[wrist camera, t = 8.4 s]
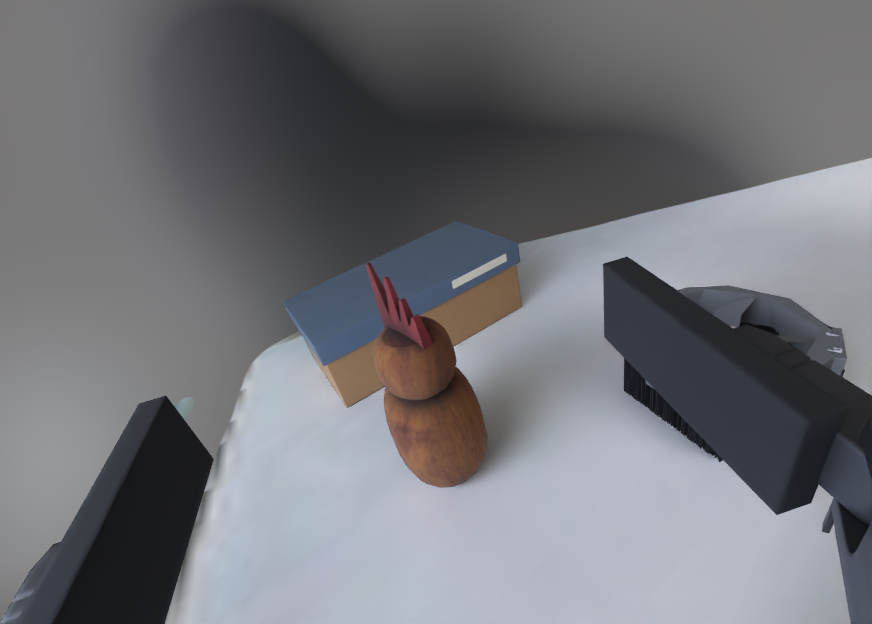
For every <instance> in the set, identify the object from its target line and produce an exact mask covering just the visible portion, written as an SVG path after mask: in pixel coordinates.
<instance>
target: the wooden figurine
mask: <svg viewBox="0 0 872 624" xmlns="http://www.w3.org/2000/svg"><path fill="white" fill-rule="evenodd" d="M366 267H367V271H368V274H369V278H370V281H371V285H372V288H373V291H374V295H375V298H376V302H377V305H378V309H379V312H380V315H381V318H382V322H383V325H384V329H383V330H382V331H381V333H380V334H379V335H378V337H377V340H376V342H375V346H374V363H375V368H376V371H377V373H378V376H379V378H380V380H381V382H382V384H383V385H384V386H385V388H386V389H385V396H384V405H385V413H386V418H387V423H388V426H389V429H390V432H391V435H392V437H393V439H394V442H395V444H396V447H397V449H398V451H399V454H400V456H401V457H402V459H403V460H404V462H405V464H406V465H407V466H408V467H409V468H410V470H411V471H412V472H413V473H414V474H415V475H416V476H417V477H418V478H419V479H420V480H421V481H423V482H425V483H427V484H430V485H433V486H437V487H453V486H456V485H458V484H460V483H462V482H464V481H466V480H467V479H468V478H470V477H471V476H472V475H473V474H474V473H476V471H477V469H478V467H479V465H480V462H481V460H482V458H483V456H484V454H485V450H486V446H487V432H486V427H485V423H484V419H483V415H482V411H481V408H480V405H479V402H478V400H477V397H476V395H475V393H474V391H473V389H472V387H471V385H470V383H469V382H468V380H467V379H466V377H465V376H464V375H463V374H462V372H461V371H460V370H459V369H458V368H457V367H455V366H456V356H455V351H454V348H453V345H452V342H451V339H450V336H449V334H448V333H447V331H446V329H445V328H444V327H443V326H442V325H440V324H439V323H438V322H436V321H435V320H433V319H431V318H428V317H425V316H419V315H418V314H416V315H415V316H413V314H412V311H411V309H410V307H409V305H408V303H407V301H406V299H405V298H403V299H401V300H399V298H398V296H397V294H396V292H395V289H394V287H393V285H392V283H391V281H390V279H389V277H387V276H386V277H384V285H385V288H384V286H383V285H382V283H381V281H380V279H379V277H378V276H377V274H376V272H375V270H374V268H373V266H372V265H371V263H369V262H368V263H366Z"/></svg>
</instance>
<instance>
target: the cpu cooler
mask: <svg viewBox="0 0 872 624" xmlns="http://www.w3.org/2000/svg"><path fill="white" fill-rule="evenodd" d="M678 291H679V292H680V293H682V294H683V295H685V296H686V297H687V298H689V299H690V300H692V301H693V302H695V303H696V304H698V305H699V306H701V307H702V308H704V309H705V310H707V311H708V312H710V313H711V314H713V315H714V316H715V317H717V318H718V319H720V320H721V321H723V322H724V323H726V324H727V325H729V326H730V327H732V328H735V327H739V326H742V325H745V324H747V325H750V326H753V327H756V328H759V329H762V330H765V331H767V332H770V333H773V334H774V335H776V336H777V337H779V338H781V339H782V340H784V341H785V342H787V343H788V344H790V345H792V346H793V349H798V350H800V351H801V352H803V353H804V354H806V355H808V356H809V357H810V359H811V360H816V361H817V362H819V363H820V364H822V365H824V366H825V367H827V368H828V369H830V370H831V371H833V372H835V373H836V374H838V375H839V376H841V377H843V374H844V371H845V370H843V368H844V365H845V362H846V359H847V357H846V351H845V346H844V340H843V335H842V329H840V328H834V327H830V326H828V325H826V324H824V323H823V322H821V321H820V320H819V319H817V318H816V317H814V316H813V315H812V314H810V313H809V312H808V311H806V310H805V309H803V308H802V307H801V306H799V305H798V304H797V303H795V302H794V301H793V300H791V299H789V298H784V297H779V296H775V295H770V294H765V293H761V292H756V291H752V290H747V289H742V288H738V287H733V286H711V287H691V288H684V289H681V290H678ZM624 391H626V393H628V394H629V395H633V397H634V399H635V398H636V400H637V401H639V400H640V402H641V404H642V403H643V405H644V404H645V406H646V407H647V406H648V408H650V410H651V411H652V412H653V411H654V413H655V414H657V416H659V415H660V417H661V418H663V420H665V422H666V421H667V423H668V422H669V424H670V423H671V426H672V425H673V427H675V428H676V427H677V428H676V430H678V431H680V430H681V434H682V433H683V435H685V436H686V435H687V438H689V440H691V441H694V442H693V443H696V442H697V444H698V446H700V448H702V447H703V449H704V448H705V451H707V453H709V452H710V455H711V454H712V456H713V455H714V454H715V458H716V457H718V459H719V462H721V461H722V460H723V459H722V458H721V457H720V456H719V455H718V454H717V453H716V452H715V451H714V450H713V449H712V448H711V447H710V446H709V445H708V444H707V443H706V442H705V440H704V439H703V438H702V437H701V436H700V435H699V434H698V433H697V432H696V431H695V430H694V429H693V428H692V427H691V426H690V425H689V424H688V423H687V422H686V421H685V420H684V419H683V418H682V417H681V416H680V415H679V414H678V413H677V412H676V411H675V410H674V408H673V407H672V406H671V405H670V404H669V403H668V402H667V401H666V400H665V399H664V398H663V397H662V396H661V395H660V394H659V393H658V392H657V391H656V390H655V389H654V388H653V387H652V386H651V385H650V384H649V383H648V382H647V381H646V380H645V379H644V378H643V376H642V375H641V374H640V373H639V372H638V371H637V370H636V369H635V368H634V367H633V366H632V365H631V364H630V363H629V362H628V361H627V360H626V359H625V358H624ZM718 459H717V460H718Z"/></svg>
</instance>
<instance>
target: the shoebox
mask: <svg viewBox="0 0 872 624" xmlns="http://www.w3.org/2000/svg"><path fill="white" fill-rule="evenodd" d="M519 262H520V255H519V248H518V243H517V242H514V241H511V240H508V239H506V238H503V237H500V236H498V235H495V234H492V233H489V232H487V231H484V230H481V229H479V228H476V227H473V226H470V225H467V224H465V223H462V222H459V221H455V222H453V223H451V224H449V225H447V226H445V227H443V228H440V229H438V230H436V231H434V232H432V233H429V234H427V235H425V236H423V237H421V238H419V239H416V240H414V241H412V242H410V243H408V244H406V245H403V246H401V247H399V248H397V249H395V250H393V251H390V252H389V253H386V254H384V255H382V256H380V257H378V258H375V259H373V260H371V261H369V263H371V265H372V266H373V268H374V270H375V272H376V274H377V276H378V277H379V279H380V281H381V283H382V285H383V286H384V288H385V285H384V277H386V276H387V277H389V279H390V281H391V283H392V285H393V287H394V289H395V292H396V294H397V296H398V298H399V300H401V299H403V298H405V299H406V301H407V303H408V305H409V307H410V309H411V311H412V314H413V316H415V315H416V314H418V315H419V316H425V317H428V318H431V319H433V320H435V321H436V322H438V323H439V324H440V325H442V326H443V327H444V328H445V329H446V331H447V333H448V334H449V336H450V339H451V342H452V345H453V346H455V345H457V344H458V343H460V342H462V341H463V340H465V339H467V338H469V337H470V336H472V335H474V334H476V333H477V332H479V331H481V330H482V329H484V328H486V327H488V326H489V325H491V324H493V323H495V322H496V321H498V320H500V319H501V318H503V317H505V316H507V315H508V314H510V313H512V312H514V311H515V310H517V309H519V308H520V307H522V302H521V295H520V288H519V281H518V274H517V267H516V264H517V263H519ZM367 263H368V262H367ZM283 304H284V306H285V308H286V310H287V312H288V314H289V316H290V318H291V320H292V321H293V322H294V324H295V325H296V327H297V329H298V330H299V331H300V333H301V334H302V336H303V337H304V339H305V341H306V343H307V345H308V347H309V349H310V351H311V353H312V355H313V357H314V359H315V361H316V362H317V364H318V365H319V367H320V368H321V370H322V371H323V373H324V374H325V376H326V377H327V379H328V380H329V382H330V383H331V385H332V386H333V388H334V389H335V391H336V392H337V394H338V395H339V397H340V398H341V400H342V401H343V403H344V404H345V406H346V407H347V408H348V407H349V406H351V405H353V404H355V403H356V402H358V401H360V400H361V399H363V398H365V397H367V396H368V395H370V394H372V393H374V392H375V391H377V390H379V389H380V388H382V387H384V385H383V384H382V382H381V380H380V378H379V376H378V373H377V371H376V368H375V363H374V346H375V342H376V340H377V337H378V335H379V334H380V333H381V331H382V330H383V329H384V325H383V322H382V318H381V315H380V312H379V309H378V305H377V302H376V298H375V295H374V291H373V288H372V285H371V281H370V278H369V274H368V271H367V267H366V263H364V264H362V265H360V266H358V267H356V268H354V269H351V270H349V271H347V272H345V273H343V274H341V275H338V276H336V277H334V278H332V279H330V280H328V281H325V282H323V283H321V284H319V285H317V286H315V287H313V288H311V289H308V290H306V291H304V292H302V293H299V294H297V295H295V296H293V297H291V298H289V299H286V300H284V301H283Z"/></svg>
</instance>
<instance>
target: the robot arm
mask: <svg viewBox="0 0 872 624" xmlns="http://www.w3.org/2000/svg"><path fill="white" fill-rule="evenodd" d="M603 276H604V334H605V338H606V339H607V340H608V341H609V342H610V343H611V344H612V346H613V347H614V348H615V349H616V350H617V351H618V352H619V353H620V354H621V355H622V356H623V357H624V358H625V359H626V360H627V361H628V362H629V363H630V364H631V365H632V366H633V367H634V368H635V369H636V370H637V371H638V372H639V373H640V374H641V375H642V376H643V378H644V379H645V380H646V381H647V382H648V383H649V384H650V385H651V386H652V387H653V388H654V389H655V390H656V391H657V392H658V393H659V394H660V395H661V396H662V397H663V398H664V399H665V400H666V401H667V402H668V403H669V404H670V405H671V406H672V407H673V408H674V410H675V411H676V412H677V413H678V414H679V415H680V416H681V417H682V418H683V419H684V420H685V421H686V422H687V423H688V424H689V425H690V426H691V427H692V428H693V429H694V430H695V431H696V432H697V433H698V434H699V435H700V436H701V437H702V438H703V439H704V440H705V442H706V443H707V444H708V445H709V446H710V447H711V448H712V449H713V450H714V451H715V452H716V453H717V454H718V455H719V456H720V457H721V458H722V459H723V460H724V461H725V462H726V463H727V464H728V465H729V466H730V467H731V468H732V469H733V470H734V471H735V472H736V474H737V475H738V476H739V477H740V478H741V479H742V480H743V481H744V482H745V483H746V484H747V485H748V486H749V487H750V488H751V489H752V490H753V491H754V492H755V493H756V494H757V495H758V496H759V497H760V498H761V499H762V500H763V501H764V502H765V503H766V504H767V505H768V507H769V508H770V509H771V510H772V511H773V512H774V513H775V514H776V515H778V514H781V513H784V512H787V511H790V510H792V509H795V508H798V507H801V506H804V505H807V504H810V503H811V502H812V499H813V497H814V494H815V492H816V489H817V487H818V484H819V485H820V486H821V487H822V488H823V489H825V490H826V491H827V492H828V493H829V494H830V495H831V496H833V497H834V498H833V501H832V503H831V505H830V508H829V510H828V512H827V514H826V517H825V519H824V521H823V526H822V532H826V533H829V532H830V530H831V528H832V526H833V523H834V527H835V533H836V539H837V545H838V551H839V556H840V562H841V568H842V574H843V580H844V585H845V591H846V597H847V603H848V609H849V615H850V620H851V624H872V396H871V395H870V394H868V393H867V392H865V391H863V390H862V389H860V388H859V387H857V386H855V385H854V384H852V383H851V382H849V381H847V380H846V379H844V378H843V377H841V376H839V375H838V374H836V373H835V372H833V371H831V370H830V369H828V368H827V367H825V366H824V365H822V364H820V363H819V362H817V361H816V360H811V359H810V357H809V356H808V355H806V354H804V353H803V352H801V351H800V350H798V349H793V346H792V345H790V344H788V343H787V342H785V341H784V340H782V339H781V338H779V337H777V336H776V335H774V334H773V333H770V332H767V331H765V330H762V329H759V328H756V327H753V326H750V325H747V324H745V325H742V326H739V327H735V328H732V327H730V326H729V325H727V324H726V323H724V322H723V321H721V320H720V319H718V318H717V317H715V316H714V315H713V314H711V313H710V312H708V311H707V310H705V309H704V308H702V307H701V306H699V305H698V304H696V303H695V302H693V301H692V300H690V299H689V298H687V297H686V296H685V295H683V294H682V293H680V292H679V291H677V290H676V289H674V288H673V287H671V286H670V285H668V284H667V283H665V282H664V281H662V280H661V279H659V278H658V277H656V276H655V275H654V274H652V273H651V272H649V271H648V270H646V269H645V268H643V267H642V266H640V265H639V264H637V263H636V262H634V261H633V260H631V259H630V258H628V257H625V258H621V259H618V260H615V261H611V262H608V263H605V264H603ZM212 463H213V458H212V457H211V455H210V454H209V452H208V451H207V450H206V448H205V447H204V446H203V444H202V443H201V442H200V440H199V439H198V438H197V436H196V435H195V434H194V432H193V431H192V430H191V428H190V427H189V426H188V424H187V423H186V422H185V420H184V419H183V418H182V416H181V415H180V414H179V412H178V411H177V410H176V408H175V407H174V406H173V404H172V403H171V402H170V400H169V399H168V398H167V396H163V397H160V398H157V399H153V400H150V401H147V402H144V403H140V404H139V405H138V406H137V408H136V410H135V412H134V413H133V415H132V417H131V419H130V421H129V422H128V424H127V426H126V428H125V429H124V431H123V433H122V435H121V437H120V438H119V440H118V442H117V444H116V445H115V447H114V449H113V451H112V453H111V454H110V456H109V458H108V460H107V461H106V463H105V465H104V467H103V469H102V470H101V472H100V474H99V476H98V477H97V479H96V481H95V483H94V485H93V486H92V488H91V490H90V492H89V493H88V495H87V497H86V499H85V500H84V502H83V504H82V506H81V508H80V509H79V511H78V513H77V515H76V516H75V518H74V520H73V522H72V524H71V526H70V527H69V529H68V531H67V532H66V534H65V536H64V538H63V539H62V541H61V542H59V543H56V544H53V545H52V547H51V548H50V549H49V550H48V551H47V552H46V553H45V555H44V556H43V557H42V558H41V559H40V560H39V561H38V562H37V563H36V565H35V566H34V567H33V568H32V569H31V570H30V572H29V574H28V575H27V577H26V579H25V580H24V582H23V584H22V585H21V587H20V589H19V591H18V592H17V594H16V596H15V601H14V602H12V603H11V604H10V606H9V607H8V609H7V611H6V612H5V614H4V616H3V618H2V619H1V620H2V624H164V623H165V620H166V616H167V613H168V610H169V606H170V603H171V600H172V596H173V593H174V590H175V586H176V583H177V580H178V576H179V573H180V570H181V566H182V563H183V560H184V556H185V553H186V549H187V546H188V543H189V539H190V536H191V533H192V529H193V526H194V523H195V519H196V516H197V513H198V509H199V506H200V503H201V499H202V496H203V493H204V489H205V486H206V483H207V479H208V476H209V473H210V469H211V466H212Z"/></svg>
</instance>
